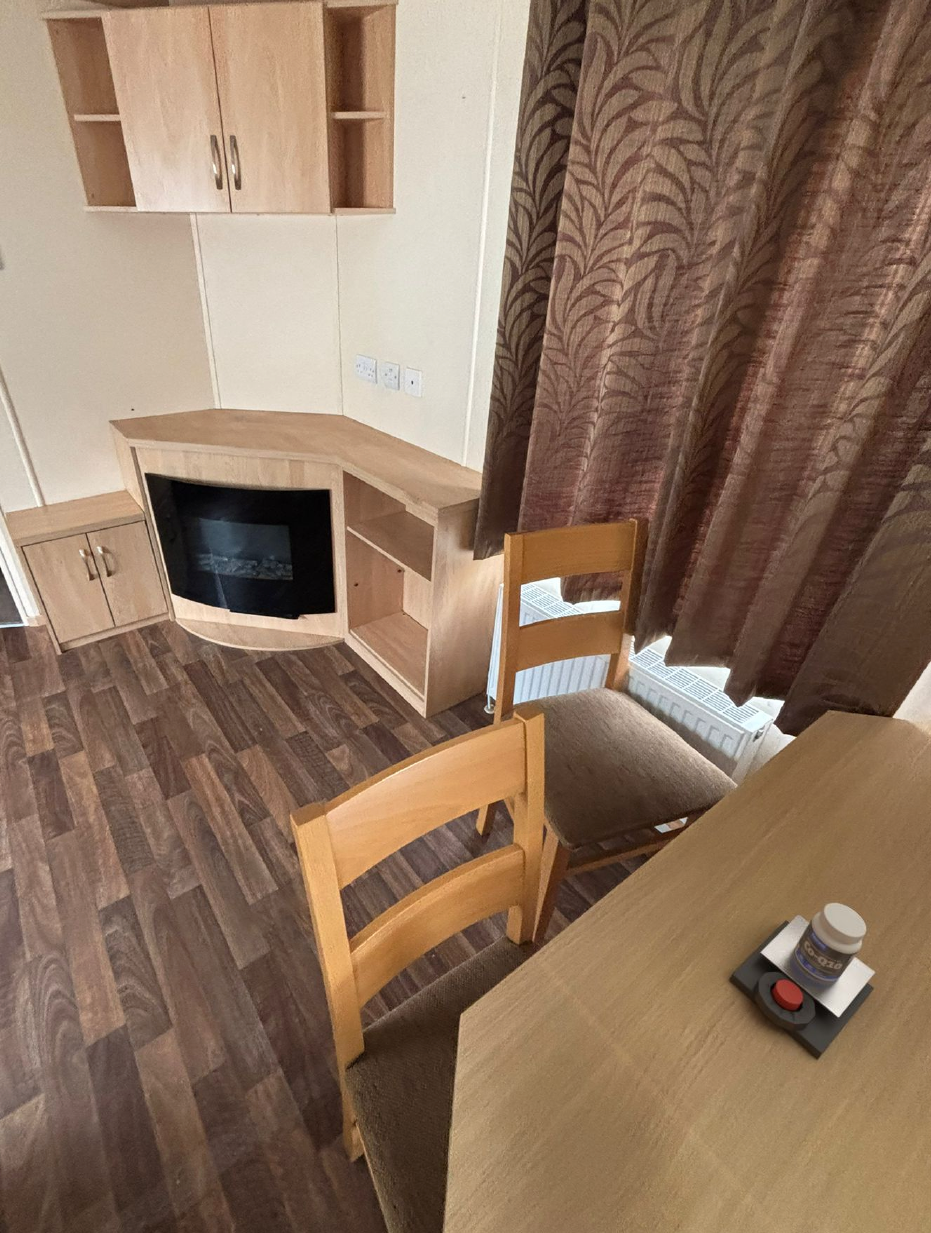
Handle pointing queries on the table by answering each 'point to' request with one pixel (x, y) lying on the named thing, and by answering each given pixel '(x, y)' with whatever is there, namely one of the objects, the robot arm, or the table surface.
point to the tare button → (787, 995)
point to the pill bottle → (830, 941)
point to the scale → (809, 1019)
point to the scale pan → (825, 993)
